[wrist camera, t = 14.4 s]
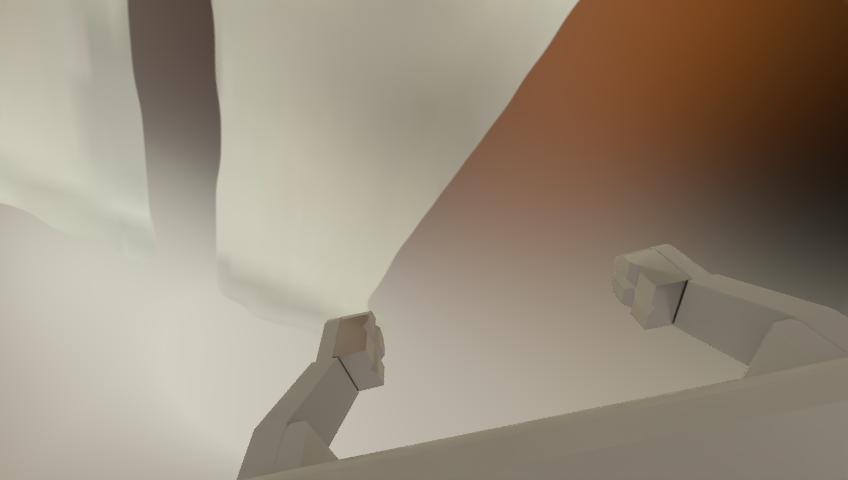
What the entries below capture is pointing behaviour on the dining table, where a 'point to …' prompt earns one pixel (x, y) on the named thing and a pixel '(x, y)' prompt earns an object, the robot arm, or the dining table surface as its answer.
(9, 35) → the dining table surface
